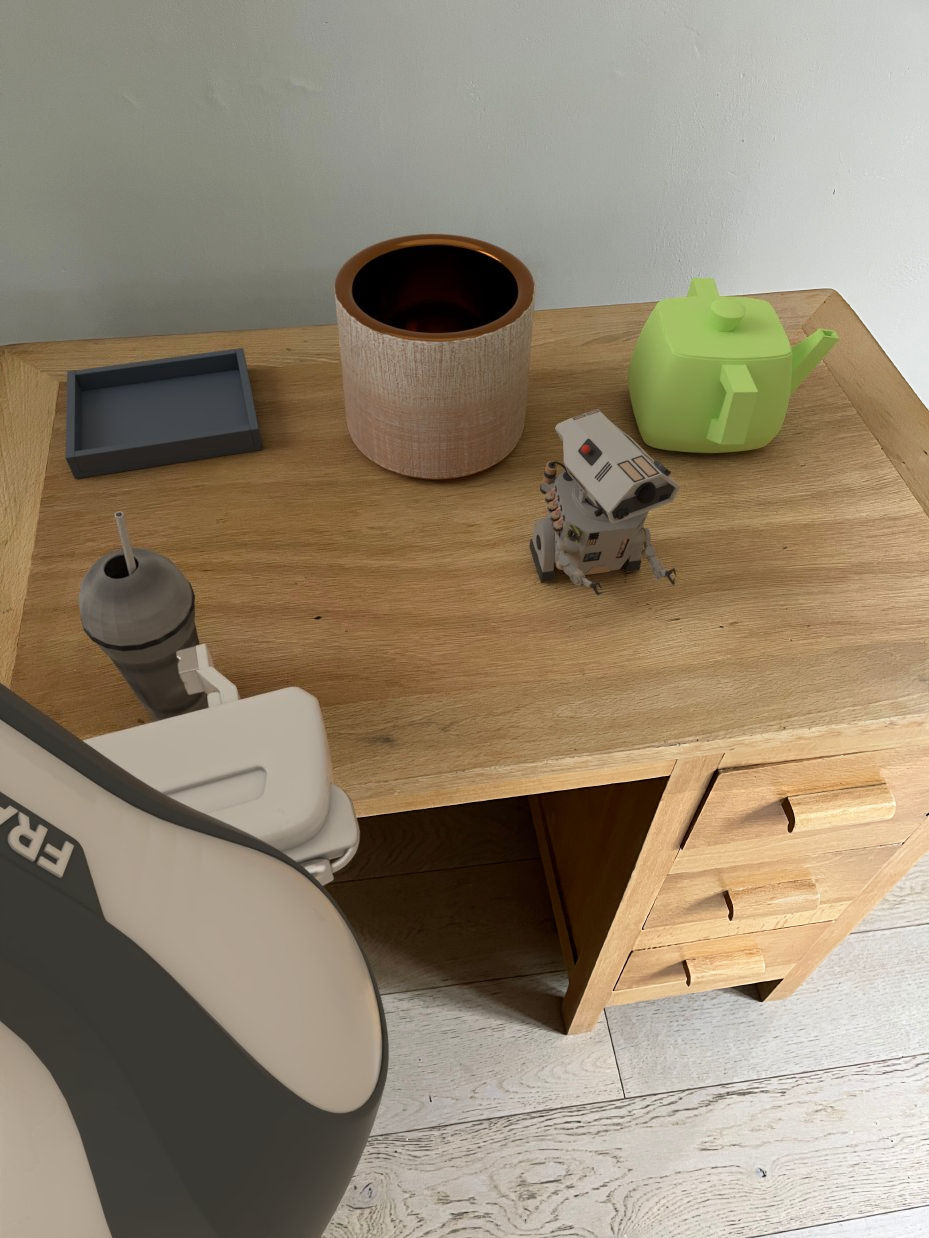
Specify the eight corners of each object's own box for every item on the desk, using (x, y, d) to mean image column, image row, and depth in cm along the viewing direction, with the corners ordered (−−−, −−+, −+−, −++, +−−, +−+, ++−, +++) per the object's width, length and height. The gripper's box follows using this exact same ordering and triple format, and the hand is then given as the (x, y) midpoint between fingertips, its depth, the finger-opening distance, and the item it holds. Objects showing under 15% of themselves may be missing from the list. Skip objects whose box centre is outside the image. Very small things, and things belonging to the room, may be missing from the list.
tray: (74, 479, 80) (65, 458, 78) (75, 392, 89) (66, 371, 87) (263, 449, 84) (259, 428, 82) (247, 368, 92) (243, 347, 90)
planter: (369, 502, 79) (356, 356, 67) (332, 388, 90) (314, 244, 78) (548, 468, 83) (567, 323, 71) (492, 363, 93) (500, 221, 81)
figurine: (556, 638, 70) (579, 504, 58) (524, 537, 77) (540, 400, 65) (662, 623, 71) (706, 490, 59) (622, 526, 78) (654, 389, 66)
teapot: (778, 363, 94) (819, 250, 84) (832, 488, 82) (888, 372, 72) (612, 363, 94) (633, 249, 84) (641, 488, 81) (670, 372, 71)
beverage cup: (144, 661, 68) (56, 468, 52) (236, 665, 68) (176, 473, 52) (118, 741, 63) (13, 556, 47) (217, 745, 63) (144, 562, 47)
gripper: (362, 835, 33) (296, 584, 42) (-224, 1008, 29) (-164, 693, 38) (377, 900, 38) (315, 663, 46) (-125, 1056, 34) (-91, 766, 43)
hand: (97, 677), depth 42 cm, fingers open, 8 cm apart
